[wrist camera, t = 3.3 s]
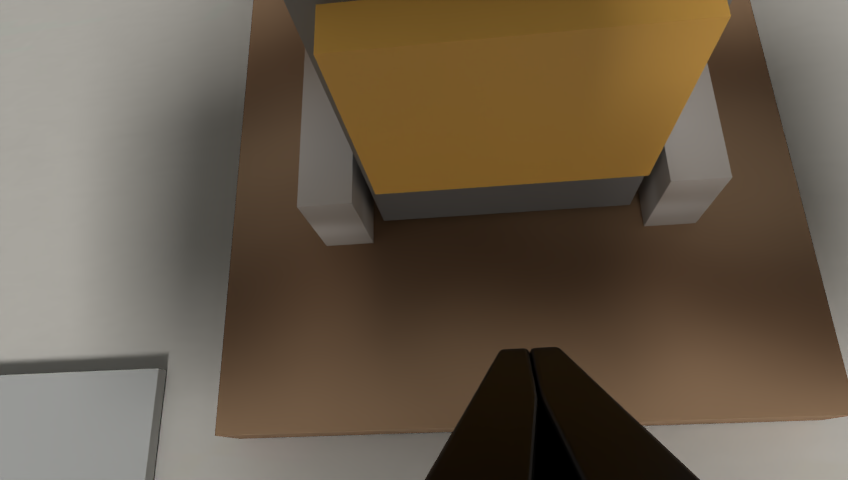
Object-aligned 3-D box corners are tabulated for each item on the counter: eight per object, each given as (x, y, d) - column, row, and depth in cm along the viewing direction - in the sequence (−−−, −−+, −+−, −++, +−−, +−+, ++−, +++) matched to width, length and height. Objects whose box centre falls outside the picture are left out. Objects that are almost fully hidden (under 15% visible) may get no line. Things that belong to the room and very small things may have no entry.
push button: (634, 235, 15) (872, -170, 5) (384, 250, 15) (206, -92, 6) (608, 65, 16) (755, -469, 7) (383, 84, 17) (244, -386, 8)
